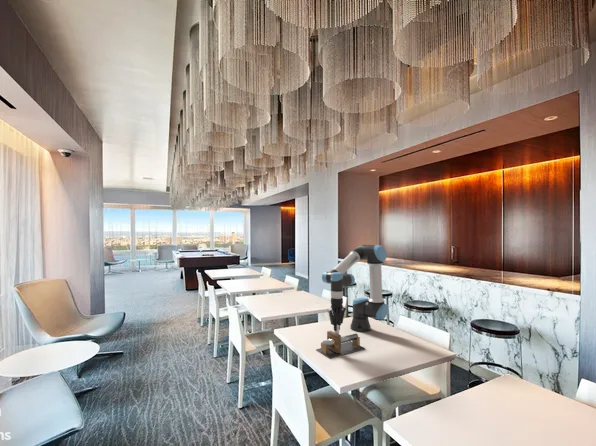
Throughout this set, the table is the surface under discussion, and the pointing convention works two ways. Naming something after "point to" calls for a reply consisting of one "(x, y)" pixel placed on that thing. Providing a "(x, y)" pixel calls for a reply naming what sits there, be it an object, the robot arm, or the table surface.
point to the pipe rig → (345, 347)
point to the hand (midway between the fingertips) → (336, 335)
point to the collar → (337, 338)
